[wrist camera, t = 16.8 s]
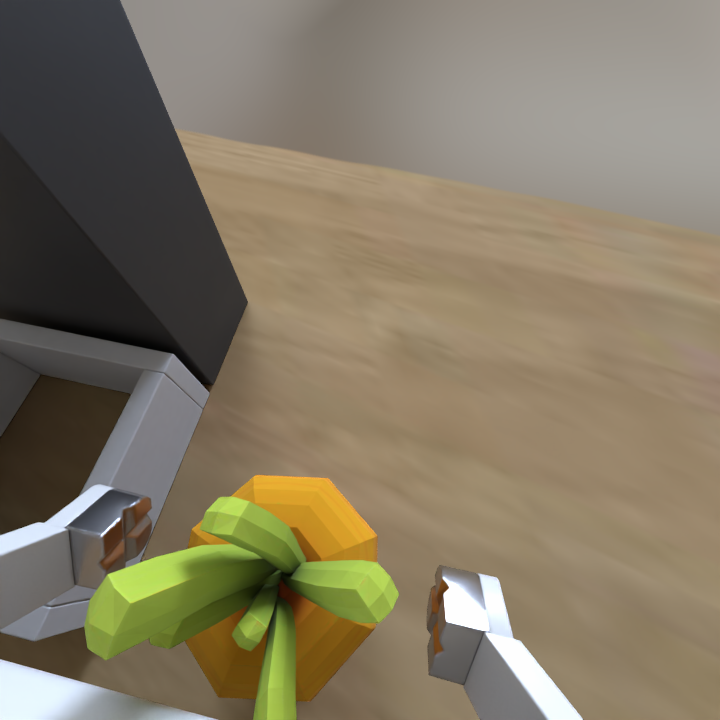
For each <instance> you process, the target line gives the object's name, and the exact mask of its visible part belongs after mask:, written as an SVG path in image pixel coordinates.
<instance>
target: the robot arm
mask: <svg viewBox="0 0 720 720" xmlns="http://www.w3.org/2000/svg"><path fill="white" fill-rule="evenodd" d="M151 509H152V504H151V498H149V497H148V496H144V495H140V494H137V493H133V492H129V491H125V490H122V489H118V488H112V487H109V486H105V485H101V484H97V485H94V486H92V487H90V488H89V489H88V490H87V491H85V492H84V493H83V494H81V495H80V496H79V497H78V498H76V499H75V500H74V501H72V502H71V503H70V504H68V505H67V506H66V507H65V508H63V509H62V510H61V511H59V512H58V513H57V514H55V515H54V516H53V517H52V518H50V519H49V520H48V521H46V522H45V523H41V522H37V523H35V524H32V525H29V526H26V527H23V528H20V529H17V530H14V531H11V532H8V533H6V534H3V535H0V630H1V629H3V628H5V627H6V626H8V625H10V624H12V623H13V622H15V621H17V620H18V619H20V618H22V617H24V616H25V615H27V614H29V613H31V612H32V611H34V610H36V609H38V608H39V607H41V606H43V605H44V604H46V603H48V602H50V601H51V600H53V599H55V598H57V597H58V596H60V595H62V594H63V593H65V592H67V591H69V590H70V589H72V588H74V587H75V585H77V586H82V587H86V588H91V589H95V590H97V589H98V588H99V586H100V585H101V583H102V582H103V580H104V579H105V577H106V576H107V574H110V573H113V572H115V571H118V570H121V569H124V568H126V562H127V561H129V560H131V559H133V558H135V557H137V556H138V555H139V554H140V553H141V551H142V550H143V549H144V548H145V546H146V544H147V542H148V540H149V538H150V535H151V531H152V520H151V519H150V517H149V516H148V514H147V513H148V512H149V511H150V510H151ZM435 583H436V586H434V587H432V588H431V591H430V595H429V600H428V606H427V630H428V631H429V633H430V634H431V637H430V640H429V643H428V671H429V675H430V676H433V677H437V678H440V679H444V680H447V681H451V682H454V683H458V684H461V685H464V689H465V691H466V693H467V695H468V697H469V699H470V701H471V703H472V705H473V707H474V709H475V711H476V713H477V715H478V717H479V719H480V720H583V718H582V717H581V716H580V715H579V713H578V712H577V711H576V710H575V708H574V707H573V706H572V705H571V703H570V702H569V701H568V700H567V698H566V697H565V696H564V695H563V694H562V692H561V691H560V690H559V689H558V687H557V686H556V685H555V684H554V682H553V681H552V680H551V679H550V677H549V676H548V675H547V674H546V672H545V671H544V670H543V669H542V667H541V666H540V665H539V664H538V662H537V661H536V660H535V659H534V657H533V656H532V655H531V654H530V652H529V651H528V650H527V649H526V647H525V646H524V645H523V644H522V642H521V641H519V640H515V639H514V637H513V633H512V629H511V625H510V621H509V618H508V614H507V610H506V606H505V602H504V598H503V594H502V590H501V586H500V582H499V580H498V579H497V578H496V577H492V576H487V575H483V574H478V573H477V574H476V573H474V572H469V571H465V570H460V569H456V568H451V567H447V566H442V565H439V567H438V568H437V571H436V574H435ZM0 720H217V719H214V718H210V717H206V716H203V715H199V714H196V713H192V712H188V711H185V710H181V709H178V708H174V707H170V706H167V705H163V704H160V703H156V702H152V701H149V700H145V699H141V698H138V697H134V696H131V695H127V694H123V693H120V692H116V691H113V690H109V689H105V688H102V687H98V686H95V685H91V684H88V683H84V682H80V681H77V680H73V679H70V678H66V677H62V676H59V675H55V674H52V673H48V672H44V671H41V670H37V669H34V668H30V667H26V666H23V665H19V664H16V663H12V662H9V661H5V660H1V659H0Z"/></svg>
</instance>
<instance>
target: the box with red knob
mask: <svg viewBox="0 0 720 720" xmlns="http://www.w3.org/2000/svg"><path fill="white" fill-rule="evenodd" d="M247 303H248V301H247V299H246V296H245V294H244V292H243V289H242V287H241V285H240V282H239V280H238V277H237V275H236V273H235V270H234V268H233V266H232V263H231V261H230V259H229V256H228V254H227V251H226V249H225V247H224V244H223V242H222V240H221V237H220V235H219V233H218V230H217V228H216V226H215V223H214V221H213V218H212V216H211V214H210V211H209V209H208V207H207V204H206V202H205V200H204V197H203V195H202V192H201V190H200V188H199V185H198V183H197V181H196V178H195V176H194V174H193V171H192V169H191V167H190V164H189V162H188V159H187V157H186V155H185V152H184V150H183V148H182V145H181V143H180V141H179V138H178V136H177V133H176V131H175V129H174V126H173V124H172V122H171V120H170V117H169V115H168V112H167V110H166V108H165V105H164V103H163V100H162V98H161V96H160V94H159V91H158V89H157V86H156V84H155V82H154V79H153V77H152V74H151V72H150V70H149V67H148V66H147V63H146V61H145V58H144V56H143V53H142V51H141V49H140V46H139V44H138V42H137V39H136V37H135V34H134V32H133V30H132V27H131V25H130V23H129V20H128V18H127V16H126V13H125V11H124V8H123V6H122V4H121V1H120V0H0V437H1V435H2V434H3V432H4V431H5V429H6V428H7V426H8V424H9V423H10V421H11V420H12V418H13V417H14V415H15V414H16V412H17V410H18V409H19V407H20V406H21V404H22V403H23V401H24V400H25V398H26V396H27V395H28V393H29V392H30V390H31V389H32V387H33V386H34V384H35V382H36V381H37V379H38V378H39V376H40V374H42V375H46V376H51V377H56V378H60V379H65V380H70V381H74V382H79V383H84V384H88V385H93V386H98V387H102V388H107V389H112V390H116V391H121V392H125V393H130V394H131V396H130V398H129V400H128V402H127V404H126V405H125V407H124V409H123V411H122V413H121V415H120V417H119V419H118V421H117V423H116V425H115V427H114V429H113V431H112V433H111V435H110V437H109V439H108V441H107V442H106V444H105V446H104V448H103V450H102V452H101V454H100V456H99V458H98V460H97V462H96V464H95V466H94V468H93V470H92V472H91V474H90V476H89V478H88V480H87V481H86V483H85V485H84V487H83V489H82V491H81V493H80V495H81V494H83V493H84V492H85V491H87V490H88V489H89V488H90V487H92V486H94V485H97V484H101V485H105V486H109V487H112V488H118V489H122V490H125V491H129V492H133V493H137V494H140V495H144V496H148V497H149V498H151V504H152V509H151V510H150V511H149V512H148V513H147V514H148V516H149V517H150V519H151V520H152V531H153V529H154V526H155V524H156V522H157V519H158V517H159V514H160V512H161V510H162V507H163V505H164V502H165V500H166V498H167V495H168V493H169V490H170V488H171V485H172V483H173V481H174V478H175V476H176V473H177V471H178V469H179V466H180V464H181V461H182V459H183V457H184V454H185V452H186V449H187V447H188V445H189V442H190V440H191V437H192V435H193V433H194V430H195V428H196V425H197V423H198V420H199V418H200V416H201V413H202V411H203V409H204V406H205V404H206V402H207V399H208V397H209V394H210V393H209V392H208V391H207V390H206V389H205V388H204V387H203V386H202V384H201V383H206V384H211V385H213V384H214V382H215V380H216V377H217V375H218V373H219V370H220V368H221V365H222V363H223V360H224V358H225V356H226V353H227V351H228V348H229V346H230V344H231V341H232V339H233V336H234V334H235V332H236V329H237V327H238V324H239V322H240V320H241V317H242V315H243V312H244V310H245V307H246V305H247ZM200 382H201V383H200ZM80 495H79V496H80ZM152 531H151V534H152ZM150 536H151V535H150ZM148 541H149V540H148ZM147 543H148V542H147ZM146 546H147V544H146ZM146 546H145V548H146ZM145 548H144V549H143V550H142V551H141V553H140V554H139V555H138V556H137V557H135V558H133V559H131V560H129V561H127V562H126V568H127V567H129V566H132V565H135V564H138V563H140V560H141V558H142V555H143V553H144V551H145ZM95 592H96V590H95V589H91V588H86V587H82V586H77V585H75V587H74V588H72V589H70V590H69V591H67V592H65V593H63V594H62V595H60V596H58V597H57V598H55V599H53V600H51V601H50V602H48V603H46V604H44V605H43V606H41V607H39V608H38V609H36V610H34V611H32V612H31V613H29V614H27V615H25V616H24V617H22V618H20V619H18V620H17V621H15V622H13V623H12V624H10V625H8V626H6V627H5V628H3V629H1V630H0V633H4V634H7V635H11V636H15V637H18V638H22V639H26V640H29V641H33V642H34V641H38V640H41V639H44V638H48V637H51V636H55V635H58V634H61V633H65V632H68V631H72V630H75V629H78V628H82V627H84V625H85V620H86V615H87V610H88V605H89V601H90V599H91V598H92V596H93V595H94V593H95Z"/></svg>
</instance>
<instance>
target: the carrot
mask: <svg viewBox="0 0 720 720" xmlns="http://www.w3.org/2000/svg"><path fill="white" fill-rule="evenodd" d="M398 595H399V593H398V591H397V589H396V587H395V585H394V583H393V581H392V579H391V577H390V576H389V575H388V574H387V573H386V571H385V570H384V569H383V568H382V567H381V566H380V565H379V564H378V563H377V535H376V534H375V533H374V531H373V530H372V529H371V528H370V527H369V526H368V524H367V523H366V522H365V521H364V520H363V519H362V517H361V516H360V515H359V514H358V513H357V511H356V510H355V509H354V508H353V507H352V506H351V504H350V503H349V502H348V501H347V500H346V499H345V497H344V496H343V495H342V494H341V493H340V492H339V490H338V489H337V488H336V487H335V486H334V484H333V483H332V482H331V481H330V480H329V479H328V478H311V477H289V476H267V475H255V476H254V477H253V478H252V479H251V480H249V481H248V482H247V483H246V484H245V485H243V486H242V487H241V488H240V489H239V490H238V491H236V492H235V493H234V494H233V495H232V496H230V497H219V498H218V499H217V500H216V501H215V502H214V503H213V504H212V506H211V507H210V508H209V509H208V510H207V511H206V513H205V515H204V518H203V520H202V521H201V522H200V523H199V524H197V525H196V526H195V527H194V528H193V529H192V530H191V535H190V540H189V544H188V549H185V550H181V551H177V552H174V553H170V554H166V555H162V556H158V557H155V558H152V559H149V560H146V561H143V562H141V563H138V564H135V565H132V566H129V567H127V568H124V569H121V570H118V571H115V572H113V573H110V574H107V576H106V577H105V579H104V580H103V582H102V583H101V585H100V586H99V588H98V589H97V590H96V592H95V593H94V595H93V596H92V598H91V599H90V601H89V605H88V610H87V615H86V620H85V625H84V629H85V635H86V642H87V648H88V649H89V650H91V651H92V652H94V653H95V654H97V655H98V656H100V657H101V658H103V659H104V660H108V659H110V658H112V657H114V656H116V655H118V654H119V653H121V652H123V651H125V650H127V649H129V648H131V647H133V646H135V645H137V644H139V643H141V642H143V641H145V640H147V639H149V641H150V643H151V645H154V646H158V647H163V648H167V649H170V648H172V647H174V646H176V645H178V644H180V643H181V642H183V641H185V642H186V644H187V645H188V647H189V649H190V650H191V652H192V654H193V655H194V657H195V659H196V660H197V662H198V664H199V665H200V667H201V669H202V671H203V672H204V674H205V676H206V677H207V679H208V681H209V682H210V684H211V686H212V687H213V689H214V691H215V692H216V694H217V696H218V697H221V698H243V699H256V703H255V710H254V716H253V720H297V717H296V701H311V700H312V699H313V698H314V697H315V696H316V695H317V693H318V692H319V691H320V690H321V689H322V688H323V687H324V686H325V684H326V683H327V682H328V681H329V680H330V679H331V678H332V676H333V675H334V674H335V673H336V672H337V671H338V670H339V668H340V667H341V666H342V665H343V664H344V663H345V662H346V661H347V659H348V658H349V657H350V656H351V655H352V654H353V653H354V651H355V650H356V649H357V648H358V647H359V646H360V645H361V644H362V642H363V641H364V640H365V639H366V638H367V637H368V636H369V634H370V633H371V632H372V631H373V630H374V629H375V627H376V623H380V622H381V621H382V620H383V619H384V618H385V617H386V616H387V615H388V614H389V613H390V612H391V611H392V609H393V607H394V605H395V602H396V600H397V597H398Z"/></svg>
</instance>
